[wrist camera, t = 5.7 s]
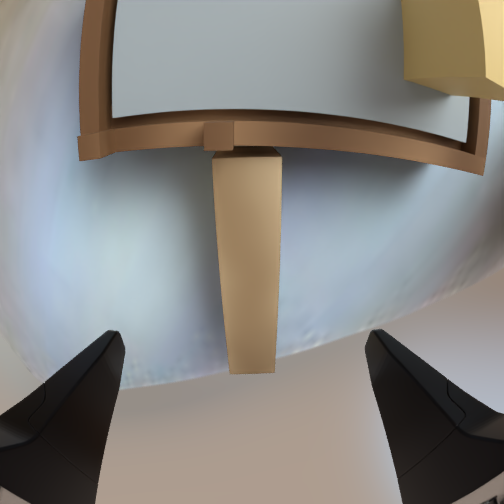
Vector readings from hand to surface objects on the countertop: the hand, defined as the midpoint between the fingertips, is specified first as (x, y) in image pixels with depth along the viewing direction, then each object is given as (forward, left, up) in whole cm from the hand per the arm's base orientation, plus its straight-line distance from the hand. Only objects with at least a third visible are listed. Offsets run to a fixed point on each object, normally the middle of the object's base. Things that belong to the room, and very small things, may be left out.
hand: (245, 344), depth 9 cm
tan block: (0, 0, -7) cm, 7 cm away
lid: (-2, -11, -3) cm, 12 cm away
